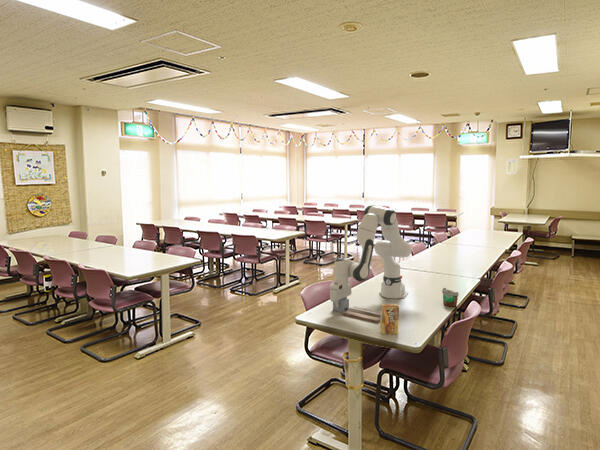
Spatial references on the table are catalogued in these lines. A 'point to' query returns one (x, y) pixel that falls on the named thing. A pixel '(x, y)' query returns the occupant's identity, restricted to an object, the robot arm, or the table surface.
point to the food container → (450, 298)
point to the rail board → (363, 314)
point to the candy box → (389, 319)
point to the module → (341, 305)
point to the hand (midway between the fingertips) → (340, 305)
